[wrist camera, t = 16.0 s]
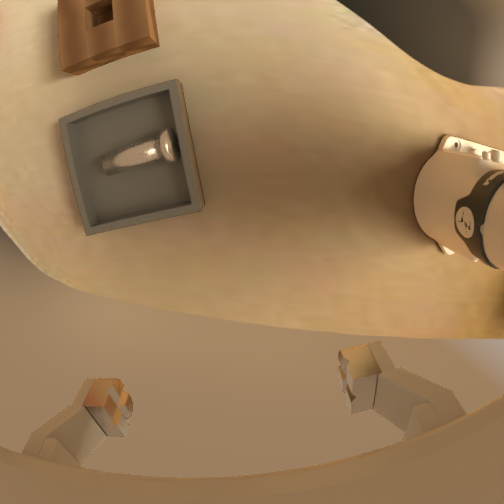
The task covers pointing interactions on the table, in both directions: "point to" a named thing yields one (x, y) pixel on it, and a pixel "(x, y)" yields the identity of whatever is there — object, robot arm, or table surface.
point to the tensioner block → (103, 32)
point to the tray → (138, 179)
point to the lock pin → (143, 153)
